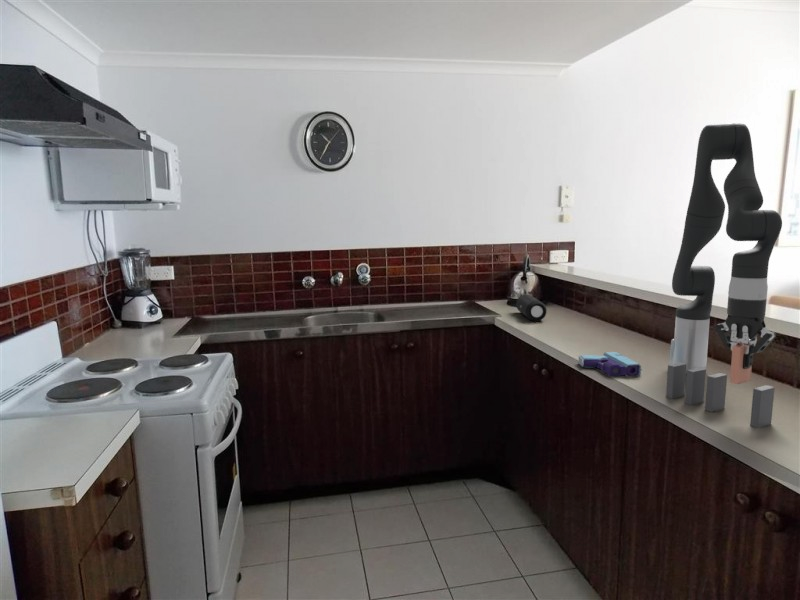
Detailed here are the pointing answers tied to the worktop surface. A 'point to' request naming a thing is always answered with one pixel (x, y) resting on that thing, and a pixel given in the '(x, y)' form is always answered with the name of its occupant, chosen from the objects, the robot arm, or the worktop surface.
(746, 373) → the domino
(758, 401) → the domino
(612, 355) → the pistol
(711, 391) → the domino
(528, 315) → the portable speaker
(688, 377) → the domino
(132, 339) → the worktop surface
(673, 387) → the domino
